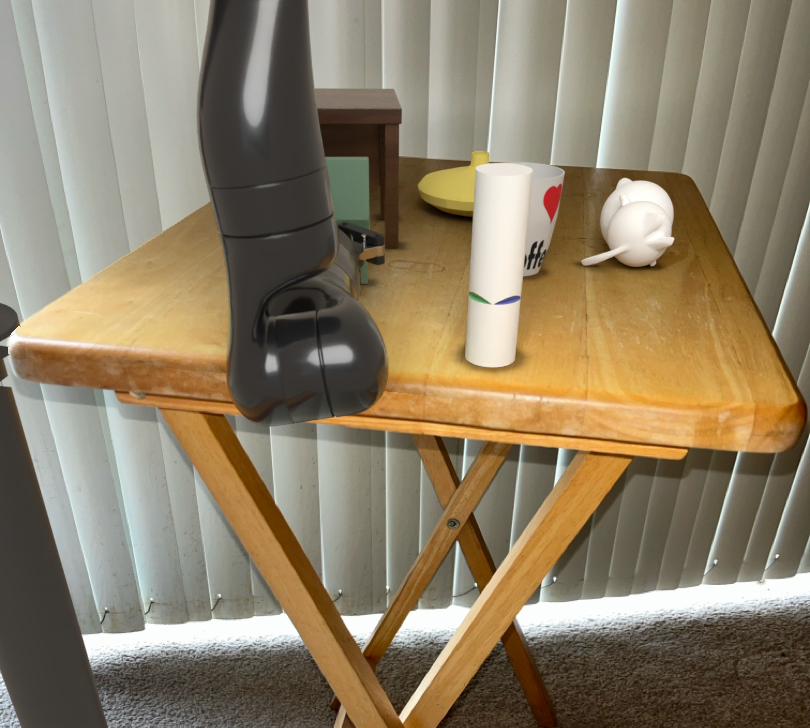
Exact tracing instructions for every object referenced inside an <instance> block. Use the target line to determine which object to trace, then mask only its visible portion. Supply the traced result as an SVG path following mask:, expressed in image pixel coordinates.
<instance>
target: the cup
mask: <svg viewBox="0 0 810 728" xmlns="http://www.w3.org/2000/svg"><path fill="white" fill-rule="evenodd" d="M506 163H510V164H519V165H524V166H527V167H530V168H532V169H533V176H532V186H531V197H530V207H529V218H528V228H527V239H526V249H525V260H524V271H523V277H530V276H533V275H536V274H538V273H539V272H540V271H541V267H542V265H543V263H544V260H545V258H546V256H547V253H548V251H549V248H550V244H551V241H552V238H553V234H554V230H555V226H556V223H557V219H558V216H559V210H560V205H561V197H562V191H563V185H564V179H565V173H566V171H565V170H564V169H563V168H561V167H558V166H556V165H551V164H547V163H539V162H527V161H511V162H509V161H508V162H506Z"/></svg>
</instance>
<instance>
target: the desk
mask: <svg viewBox="0 0 810 728" xmlns="http://www.w3.org/2000/svg"><path fill="white" fill-rule="evenodd" d="M314 88H315V97H316V104H317V111H318V118H319V125H320V131H321V136H322V142H323V148H324V153H325V157H368V158H369V186H379V218H380V220H384V235H385V249H399V217H400V216H399V204H400V199H399V197H400V191H399V190H400V125H402V124H403V109H402V106H401V102H400V100H399V98H398V96H397V92H396V90H395V88H327V87H325V88H322V87H321V88H319V87H318V88H317V87H314Z"/></svg>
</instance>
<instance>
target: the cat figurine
mask: <svg viewBox="0 0 810 728" xmlns="http://www.w3.org/2000/svg"><path fill="white" fill-rule="evenodd" d="M674 211H675V210H674V204H673V202H672V200H671V198H670V196H669V194H668V193H667V191H666V190H665V189H664V188H662V187H661V186H660V185H659V184H657V183H654V182H652V181H648V180H631V179H630V178H627V177H623V178H621V179H619V181H618V182H617V184H616V188H615V190H614V191H613V192H611V193H610V195H609V196H608V197H607V198H606V200H605V201H604V204H603V206H602V208H601V212H600V218H599V227H600V232H601V235H602V238H603V240H604V241H605V242H606V244H607V246H608V248H609V250H608V251H606V252H602V253H598V254H596V255H595V254H594V255H593V256H589V257H586V258H583V259H581V260H580V262H581V265H582V266H591V265H592V266H593V265H596V264H598V263H601V262H604V261H606V260H608V259H611V258H613V257H614V258H615V259H616V260H617V261H618V262H620V263H622V264H623V265H626V266H628V267H632V268H633V267H634V268H639V267H645V266H648V265H649V266H650V267H655V265H656V264H657V260H658V259H660V257H662V256H663V254H664V253H665V252H666V250H667V249H668V248H669V247H671V246H672V245H673V243H674V241H675V237H674V236H672V229H673V228H672V227H673V224H674V217H675V214H674Z"/></svg>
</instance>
